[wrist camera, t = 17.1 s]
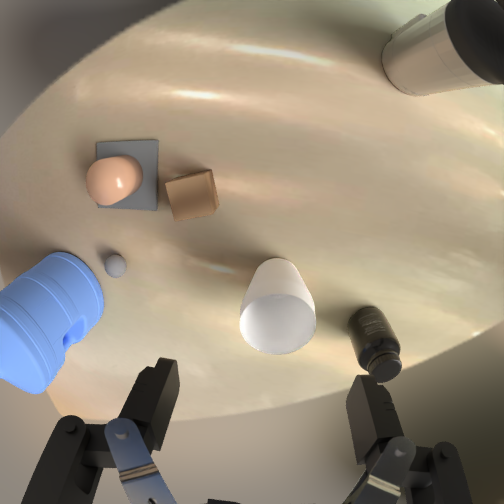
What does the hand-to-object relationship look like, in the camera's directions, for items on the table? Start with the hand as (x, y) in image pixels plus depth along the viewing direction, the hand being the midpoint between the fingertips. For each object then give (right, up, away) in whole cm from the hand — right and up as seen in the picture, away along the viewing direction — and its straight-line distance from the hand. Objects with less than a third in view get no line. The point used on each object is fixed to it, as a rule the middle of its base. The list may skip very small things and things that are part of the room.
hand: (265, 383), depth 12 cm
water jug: (-34, -1, +35) cm, 49 cm away
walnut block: (-8, +14, +27) cm, 32 cm away
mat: (-19, +17, +27) cm, 37 cm away
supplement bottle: (+18, -6, +34) cm, 39 cm away
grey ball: (-22, +4, +32) cm, 39 cm away
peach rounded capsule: (-19, +17, +26) cm, 36 cm away
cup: (+3, +2, +32) cm, 32 cm away
